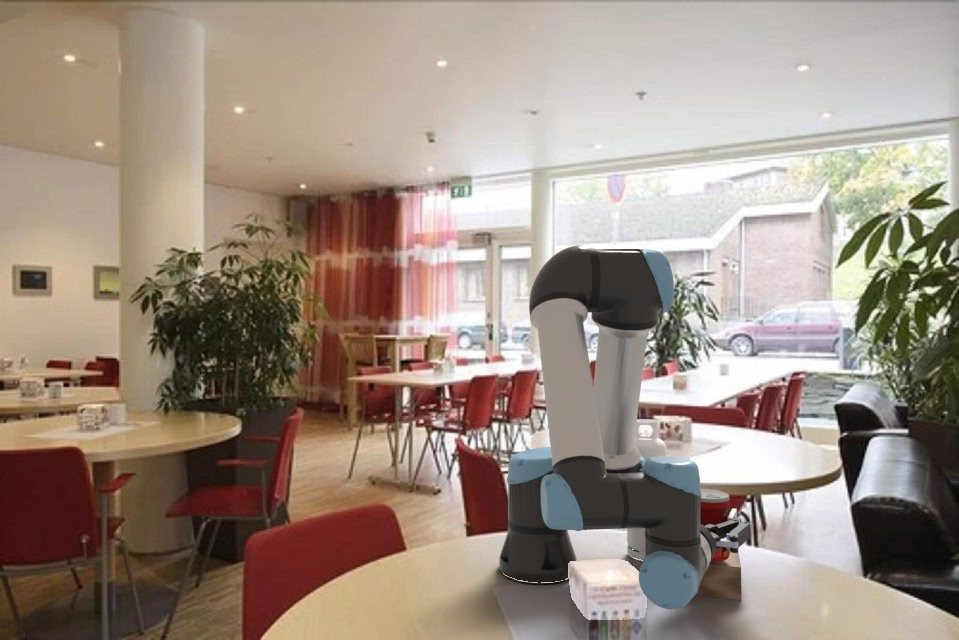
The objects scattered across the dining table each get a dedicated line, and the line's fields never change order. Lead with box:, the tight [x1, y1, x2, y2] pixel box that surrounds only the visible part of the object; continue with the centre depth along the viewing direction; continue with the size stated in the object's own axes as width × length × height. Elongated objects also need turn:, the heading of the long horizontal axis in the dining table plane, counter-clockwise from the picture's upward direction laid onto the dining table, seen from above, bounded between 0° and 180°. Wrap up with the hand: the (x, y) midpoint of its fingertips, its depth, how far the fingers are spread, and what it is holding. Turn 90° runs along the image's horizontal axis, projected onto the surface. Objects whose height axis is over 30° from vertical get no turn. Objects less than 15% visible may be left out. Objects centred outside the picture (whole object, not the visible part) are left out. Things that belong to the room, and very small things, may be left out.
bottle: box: [626, 418, 667, 560], centre depth 136 cm, size 8×8×28 cm
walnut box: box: [695, 552, 742, 601], centre depth 122 cm, size 12×14×6 cm
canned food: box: [700, 488, 731, 562], centre depth 117 cm, size 8×8×11 cm
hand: (709, 513), depth 120 cm, fingers closed on canned food, 8 cm apart
